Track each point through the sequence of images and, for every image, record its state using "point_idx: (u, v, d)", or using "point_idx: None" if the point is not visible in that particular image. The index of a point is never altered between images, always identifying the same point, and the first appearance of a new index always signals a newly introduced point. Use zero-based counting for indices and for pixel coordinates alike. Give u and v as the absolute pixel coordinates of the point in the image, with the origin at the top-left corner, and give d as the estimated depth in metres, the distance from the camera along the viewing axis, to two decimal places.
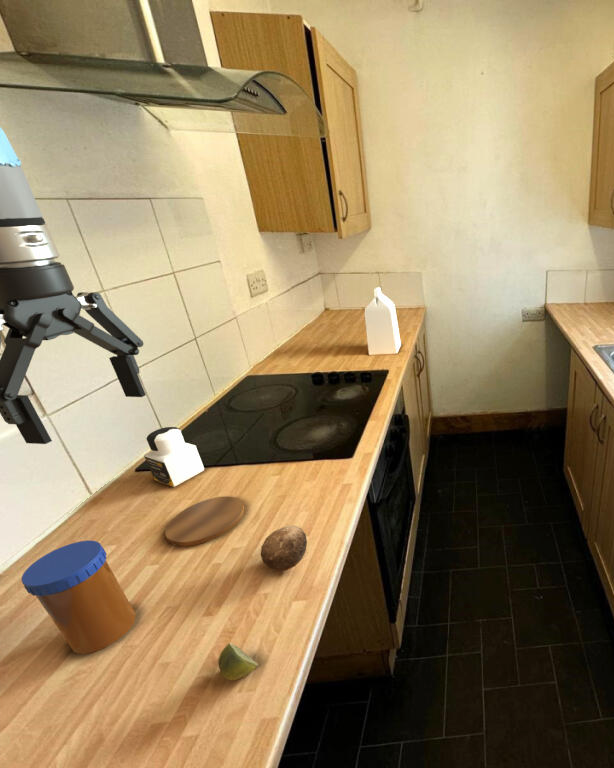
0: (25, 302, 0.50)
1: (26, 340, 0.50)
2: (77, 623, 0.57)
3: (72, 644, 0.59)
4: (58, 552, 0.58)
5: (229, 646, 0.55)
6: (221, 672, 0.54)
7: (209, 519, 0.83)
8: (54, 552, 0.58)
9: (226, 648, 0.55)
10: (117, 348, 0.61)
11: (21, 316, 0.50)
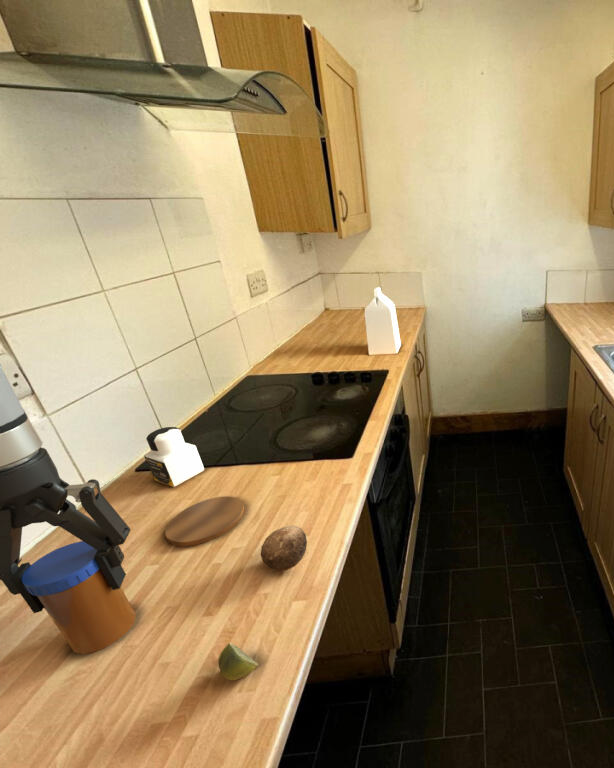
0: None
1: None
2: (77, 623, 0.57)
3: (72, 644, 0.59)
4: (58, 552, 0.58)
5: (229, 646, 0.55)
6: (221, 672, 0.54)
7: (209, 519, 0.83)
8: (54, 552, 0.58)
9: (226, 648, 0.55)
10: None
11: None
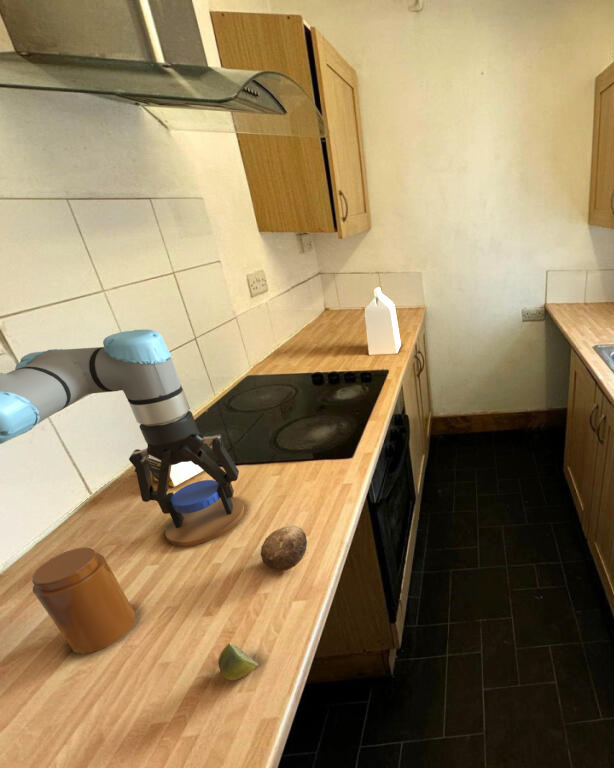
0: None
1: (203, 452, 0.80)
2: (77, 623, 0.57)
3: (72, 644, 0.59)
4: (201, 497, 0.79)
5: (229, 646, 0.55)
6: (221, 672, 0.54)
7: (209, 519, 0.83)
8: (204, 497, 0.79)
9: (226, 648, 0.55)
10: (167, 484, 0.79)
11: None
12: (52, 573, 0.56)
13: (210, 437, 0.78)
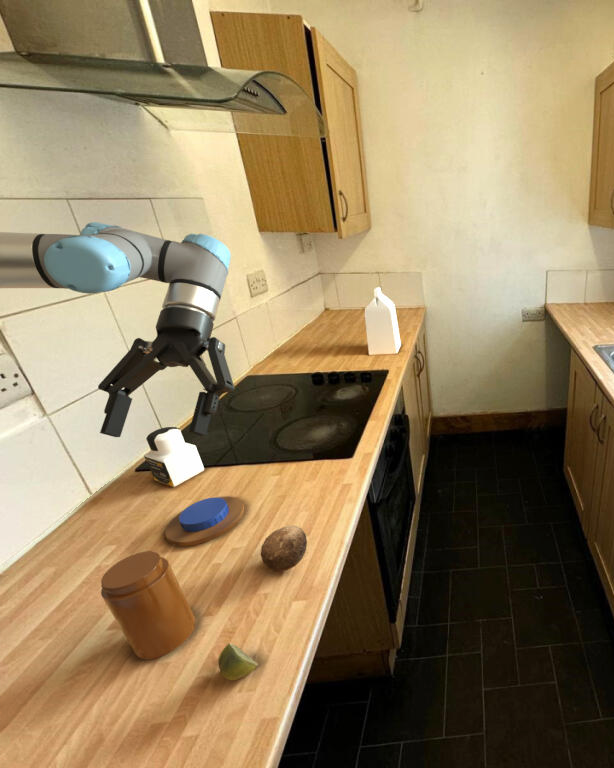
0: None
1: (204, 363, 0.71)
2: (144, 628, 0.57)
3: (137, 649, 0.58)
4: (208, 515, 0.81)
5: (229, 646, 0.55)
6: (221, 672, 0.54)
7: None
8: (211, 515, 0.81)
9: (226, 648, 0.55)
10: (135, 388, 0.69)
11: None
12: (121, 577, 0.55)
13: None
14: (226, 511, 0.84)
